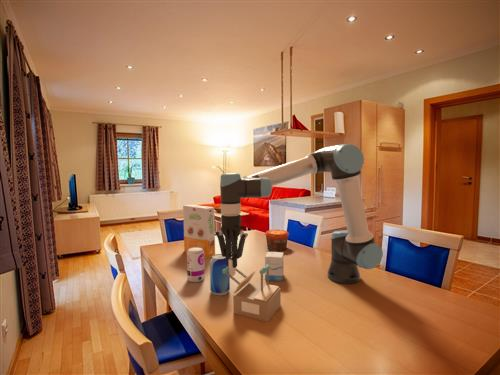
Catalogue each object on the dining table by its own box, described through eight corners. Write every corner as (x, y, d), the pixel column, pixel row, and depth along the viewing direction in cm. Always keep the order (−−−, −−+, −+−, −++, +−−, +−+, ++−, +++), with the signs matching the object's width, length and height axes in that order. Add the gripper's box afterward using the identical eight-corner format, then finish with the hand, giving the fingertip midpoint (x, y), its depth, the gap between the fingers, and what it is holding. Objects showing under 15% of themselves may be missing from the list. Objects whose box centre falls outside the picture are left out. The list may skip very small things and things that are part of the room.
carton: (280, 305, 111) (280, 288, 110) (268, 322, 99) (268, 302, 99) (248, 298, 117) (248, 282, 116) (233, 313, 105) (233, 295, 105)
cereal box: (215, 255, 174) (214, 207, 172) (207, 258, 169) (206, 208, 167) (192, 248, 188) (190, 204, 186) (184, 251, 184) (183, 205, 181)
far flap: (255, 270, 115) (239, 258, 117) (240, 283, 102) (222, 268, 105) (249, 281, 116) (233, 268, 119) (233, 294, 104) (216, 280, 107)
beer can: (214, 298, 118) (213, 260, 117) (207, 290, 125) (207, 255, 124) (232, 293, 122) (232, 257, 120) (225, 286, 129) (224, 252, 128)
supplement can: (207, 277, 139) (207, 247, 138) (197, 284, 132) (197, 252, 131) (194, 275, 143) (193, 246, 142) (183, 281, 135) (183, 250, 134)
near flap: (279, 286, 111) (279, 265, 111) (266, 301, 99) (266, 278, 98) (266, 284, 114) (266, 263, 113) (252, 298, 101) (252, 275, 101)
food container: (290, 251, 181) (290, 234, 180) (265, 251, 181) (265, 234, 181) (287, 244, 197) (287, 229, 196) (264, 244, 197) (264, 229, 196)
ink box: (282, 281, 134) (282, 257, 133) (264, 280, 136) (264, 256, 135) (283, 274, 142) (283, 252, 142) (267, 273, 144) (267, 251, 143)
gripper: (250, 213, 107) (251, 274, 108) (221, 211, 112) (222, 269, 114) (241, 217, 100) (243, 281, 102) (210, 214, 105) (212, 276, 107)
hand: (232, 275), depth 108 cm, fingers closed
